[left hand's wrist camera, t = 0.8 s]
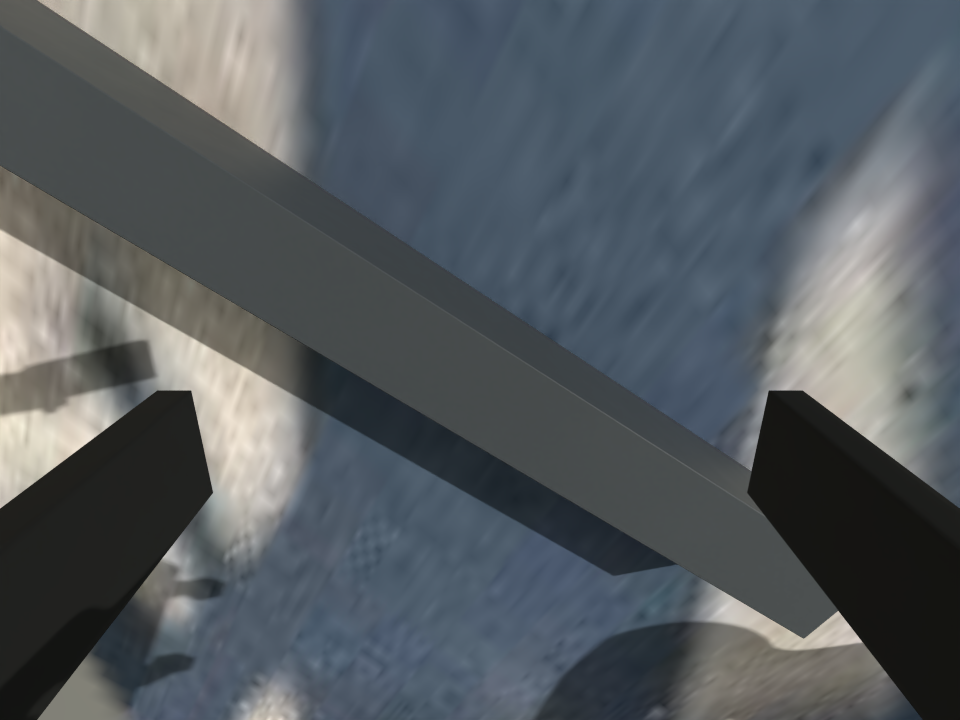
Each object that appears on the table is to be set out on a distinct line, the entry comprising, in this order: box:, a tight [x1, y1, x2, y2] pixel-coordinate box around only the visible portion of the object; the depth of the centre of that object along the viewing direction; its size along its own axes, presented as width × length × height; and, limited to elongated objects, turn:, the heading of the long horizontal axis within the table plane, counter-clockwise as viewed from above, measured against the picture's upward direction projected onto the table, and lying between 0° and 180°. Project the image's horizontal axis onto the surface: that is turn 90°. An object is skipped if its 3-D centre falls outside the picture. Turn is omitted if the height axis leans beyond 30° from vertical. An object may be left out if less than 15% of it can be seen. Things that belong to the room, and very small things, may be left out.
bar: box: [0, 0, 838, 638], centre depth 32 cm, size 61×6×8 cm, turn 56°
